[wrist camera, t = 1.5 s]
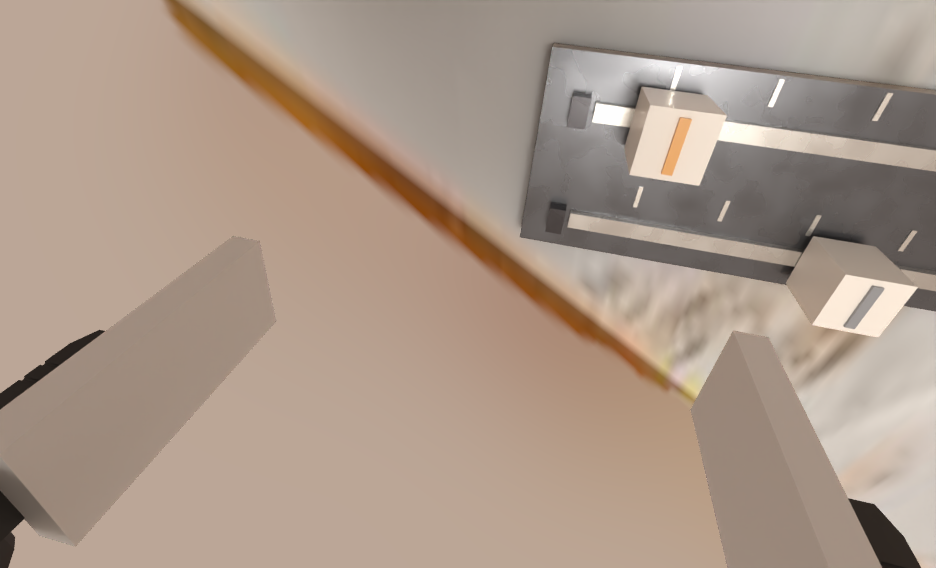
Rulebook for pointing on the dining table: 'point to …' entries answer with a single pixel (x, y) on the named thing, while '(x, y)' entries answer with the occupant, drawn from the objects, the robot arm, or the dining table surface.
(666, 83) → the console
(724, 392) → the robot arm
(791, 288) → the fader
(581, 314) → the dining table surface
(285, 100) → the dining table surface
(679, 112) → the fader
